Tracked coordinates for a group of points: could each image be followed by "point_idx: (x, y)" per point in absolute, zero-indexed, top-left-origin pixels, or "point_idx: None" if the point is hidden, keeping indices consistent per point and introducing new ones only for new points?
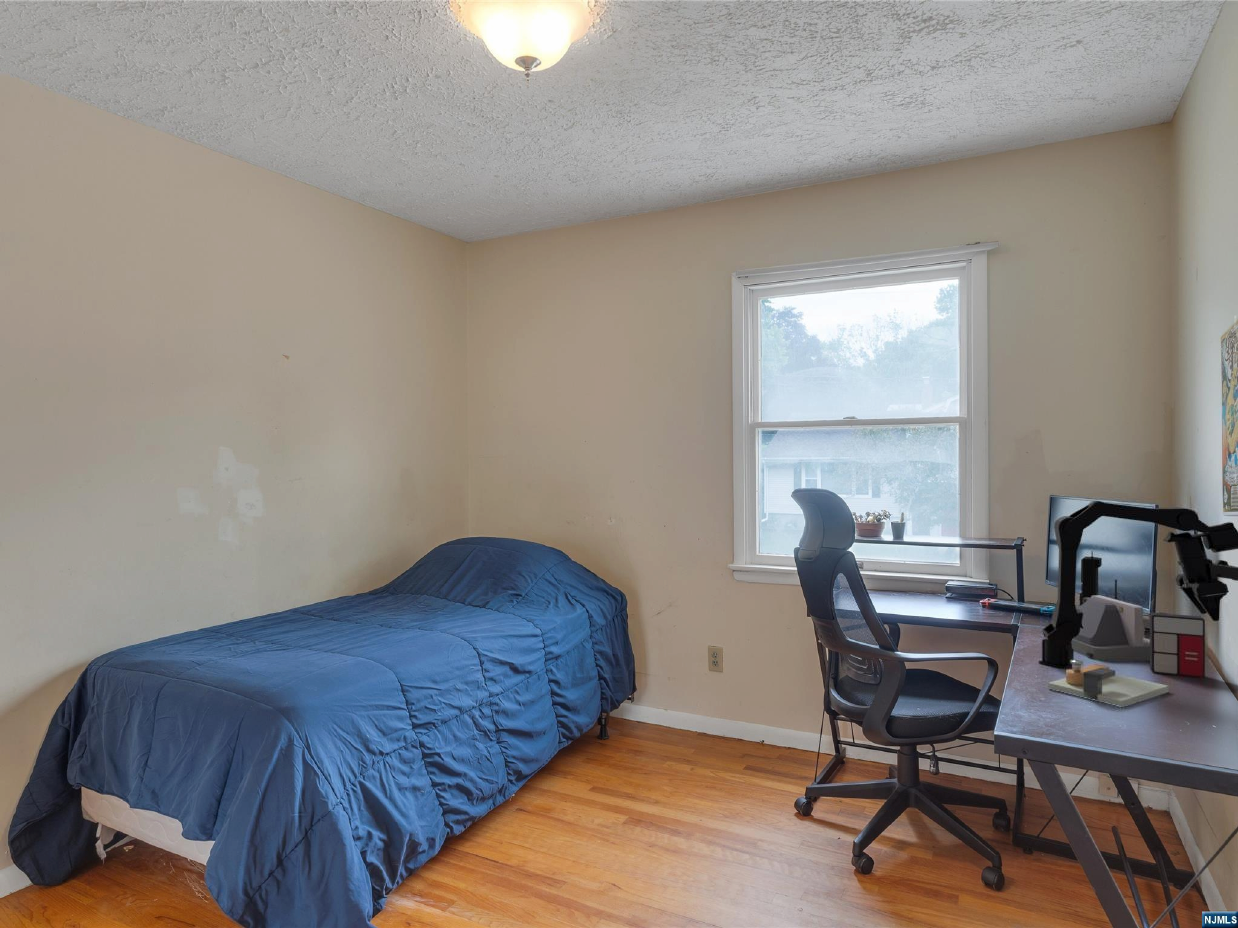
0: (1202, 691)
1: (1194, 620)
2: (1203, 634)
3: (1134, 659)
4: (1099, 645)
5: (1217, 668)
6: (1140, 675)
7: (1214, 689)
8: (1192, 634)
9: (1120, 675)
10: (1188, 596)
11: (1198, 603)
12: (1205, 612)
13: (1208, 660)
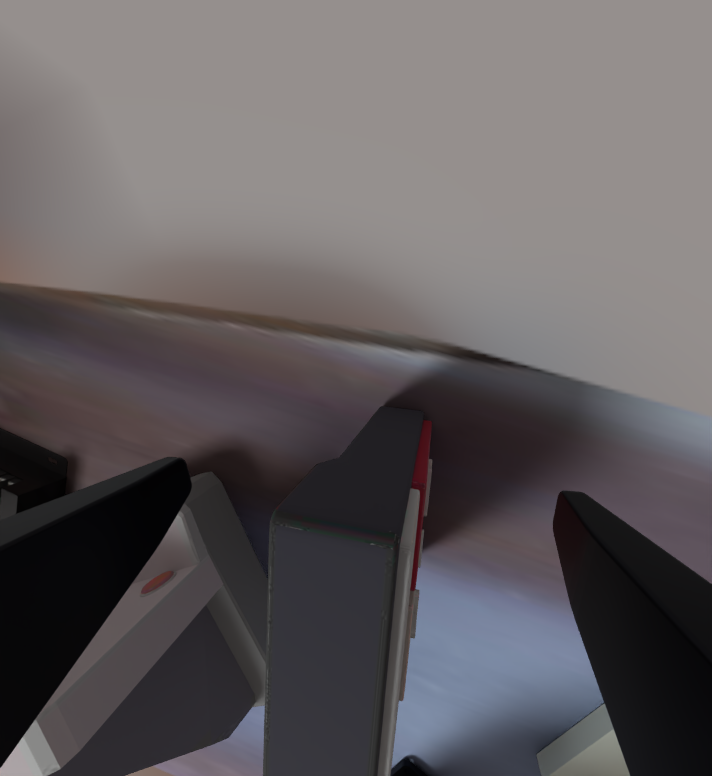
0: (659, 487)
1: (405, 600)
2: (410, 482)
3: (251, 553)
4: (248, 687)
5: (246, 319)
6: (470, 610)
7: (604, 432)
8: (416, 540)
9: (608, 735)
10: (12, 747)
11: (102, 576)
12: (179, 469)
13: (140, 314)
